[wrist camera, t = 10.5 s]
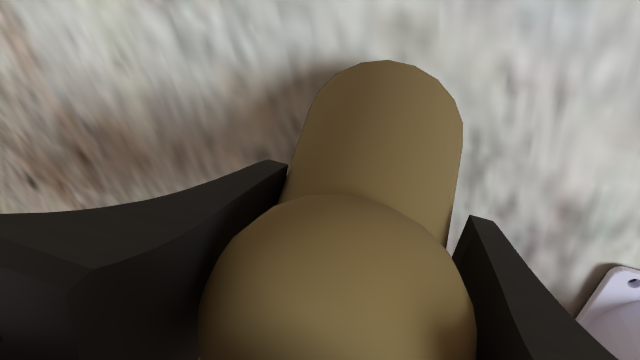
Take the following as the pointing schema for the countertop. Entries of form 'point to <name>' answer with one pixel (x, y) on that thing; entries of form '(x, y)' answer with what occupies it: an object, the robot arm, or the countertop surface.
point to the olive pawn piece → (352, 235)
